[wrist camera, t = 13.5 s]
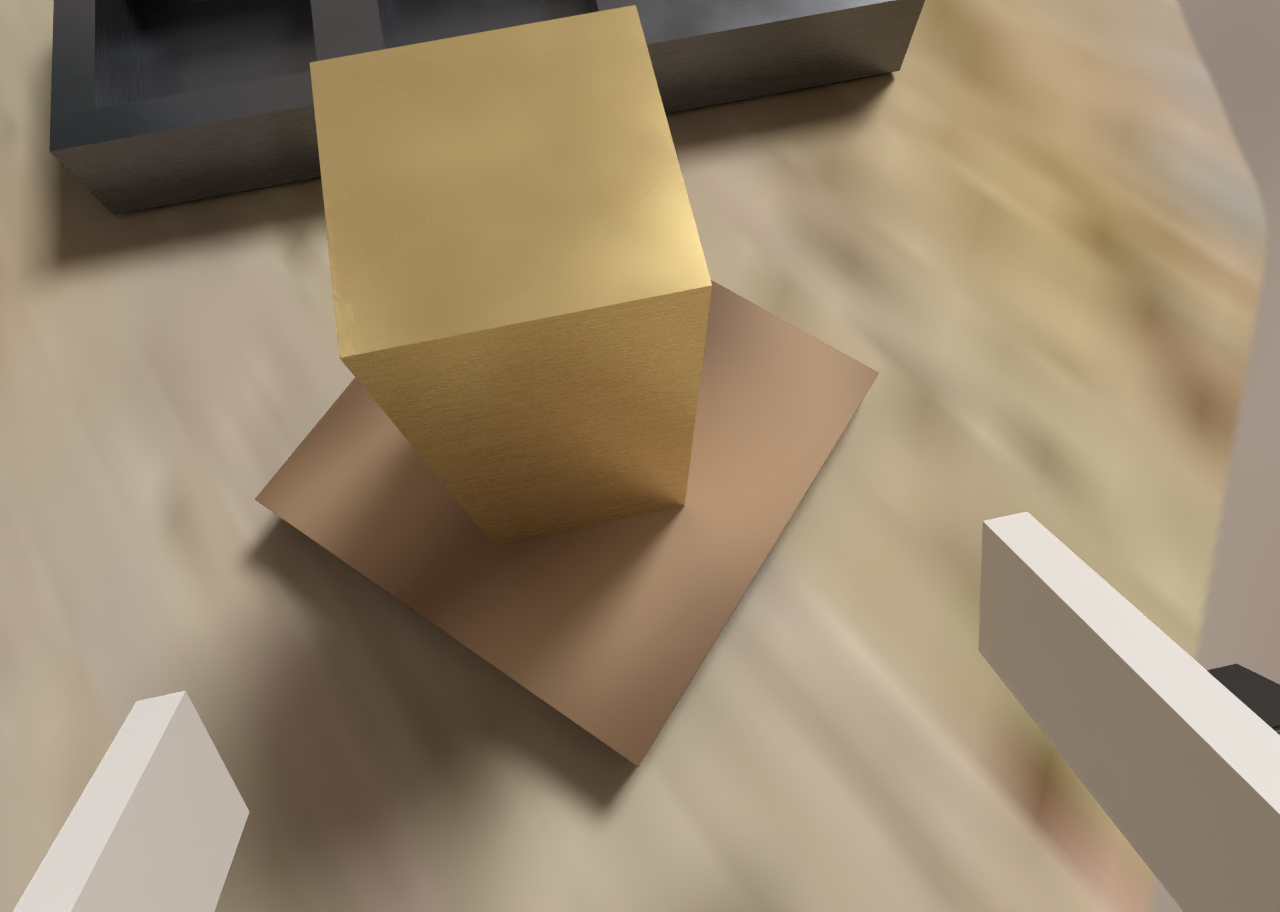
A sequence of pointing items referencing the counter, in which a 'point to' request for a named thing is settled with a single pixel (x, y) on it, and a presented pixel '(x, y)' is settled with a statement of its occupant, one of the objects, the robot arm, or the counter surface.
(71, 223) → the counter surface
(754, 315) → the coaster
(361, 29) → the compartment tray
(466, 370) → the golden rectangular block
